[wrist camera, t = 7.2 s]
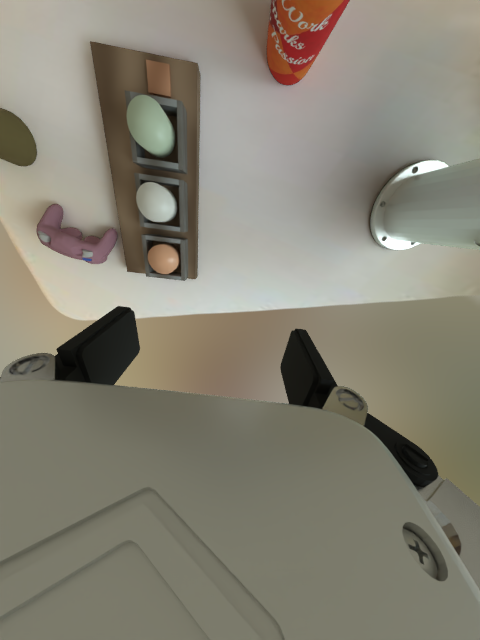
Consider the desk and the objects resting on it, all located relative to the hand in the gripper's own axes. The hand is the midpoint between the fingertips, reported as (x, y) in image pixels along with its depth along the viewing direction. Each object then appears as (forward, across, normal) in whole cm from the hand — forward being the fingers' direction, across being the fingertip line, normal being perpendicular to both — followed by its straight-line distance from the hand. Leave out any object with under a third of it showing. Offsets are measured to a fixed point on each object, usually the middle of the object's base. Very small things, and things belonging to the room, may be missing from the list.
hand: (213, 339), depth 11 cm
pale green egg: (+22, +11, -14) cm, 29 cm away
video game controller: (+26, +25, -1) cm, 36 cm away
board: (+26, +13, -9) cm, 30 cm away
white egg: (+22, +11, -7) cm, 25 cm away
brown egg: (+23, +11, +1) cm, 26 cm away
